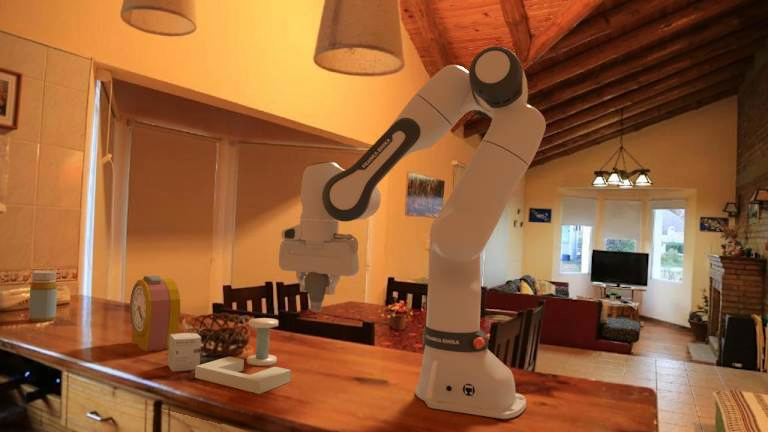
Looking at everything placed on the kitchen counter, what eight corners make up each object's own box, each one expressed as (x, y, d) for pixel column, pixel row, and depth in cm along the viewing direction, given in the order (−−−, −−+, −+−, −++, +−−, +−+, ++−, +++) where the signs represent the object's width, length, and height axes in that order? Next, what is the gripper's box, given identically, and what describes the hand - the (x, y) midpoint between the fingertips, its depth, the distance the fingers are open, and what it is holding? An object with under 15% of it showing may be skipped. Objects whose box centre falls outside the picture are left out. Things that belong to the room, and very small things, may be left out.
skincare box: (171, 372, 118) (173, 339, 118) (167, 365, 123) (169, 333, 123) (200, 369, 121) (201, 337, 121) (194, 362, 127) (196, 331, 127)
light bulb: (304, 314, 119) (306, 269, 119) (301, 310, 124) (303, 267, 125) (331, 314, 120) (333, 269, 121) (326, 310, 126) (328, 267, 126)
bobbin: (282, 361, 131) (284, 320, 131) (263, 367, 125) (265, 325, 125) (260, 356, 134) (262, 317, 134) (240, 362, 128) (242, 321, 128)
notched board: (290, 381, 115) (291, 370, 115) (259, 393, 107) (259, 381, 107) (228, 367, 124) (229, 356, 124) (195, 377, 115) (195, 366, 115)
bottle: (60, 320, 165) (62, 272, 165) (35, 323, 159) (38, 273, 159) (48, 317, 169) (50, 270, 169) (24, 320, 163) (26, 271, 163)
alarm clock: (127, 341, 144) (130, 273, 144) (158, 337, 149) (161, 272, 149) (145, 353, 132) (148, 279, 132) (178, 349, 138) (181, 278, 138)
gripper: (365, 234, 121) (363, 295, 120) (292, 231, 130) (290, 287, 130) (350, 234, 115) (348, 299, 115) (275, 231, 125) (273, 290, 124)
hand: (317, 293), depth 123 cm, fingers closed on light bulb, 6 cm apart
